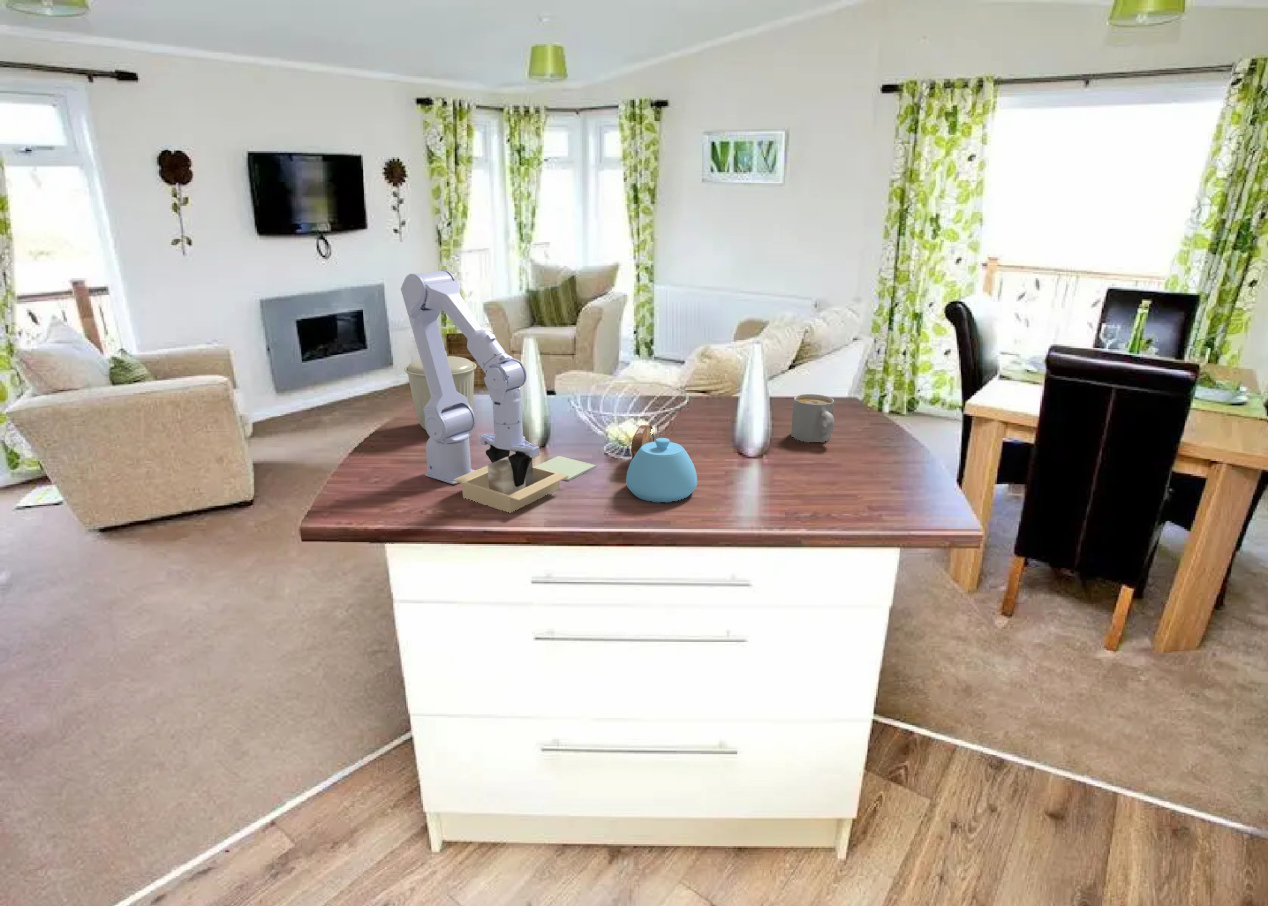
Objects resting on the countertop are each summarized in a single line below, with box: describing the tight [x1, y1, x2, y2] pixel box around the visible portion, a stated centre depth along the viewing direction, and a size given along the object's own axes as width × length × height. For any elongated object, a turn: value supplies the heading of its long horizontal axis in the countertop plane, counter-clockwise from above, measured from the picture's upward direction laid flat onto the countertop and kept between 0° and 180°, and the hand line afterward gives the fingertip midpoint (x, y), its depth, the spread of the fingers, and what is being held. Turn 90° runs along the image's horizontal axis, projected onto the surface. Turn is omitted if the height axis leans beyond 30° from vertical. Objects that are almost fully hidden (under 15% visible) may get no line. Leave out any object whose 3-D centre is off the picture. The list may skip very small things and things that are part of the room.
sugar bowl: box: [625, 437, 698, 503], centre depth 153 cm, size 15×15×12 cm
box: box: [487, 454, 534, 495], centre depth 152 cm, size 4×9×7 cm, turn 146°
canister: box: [404, 350, 477, 431], centre depth 191 cm, size 18×18×21 cm
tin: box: [630, 424, 655, 460], centre depth 169 cm, size 15×3×8 cm, turn 168°
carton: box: [453, 464, 569, 514], centre depth 153 cm, size 18×15×4 cm
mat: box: [534, 455, 597, 482], centre depth 167 cm, size 11×10×1 cm
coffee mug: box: [790, 393, 835, 443], centre depth 186 cm, size 13×10×10 cm
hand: (511, 482), depth 153 cm, fingers closed on box, 4 cm apart
